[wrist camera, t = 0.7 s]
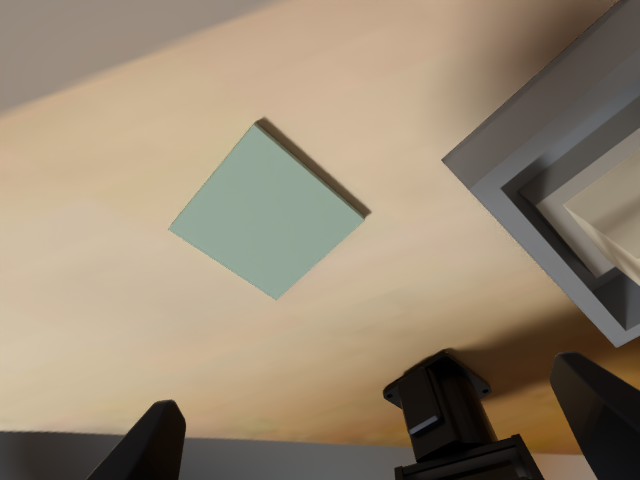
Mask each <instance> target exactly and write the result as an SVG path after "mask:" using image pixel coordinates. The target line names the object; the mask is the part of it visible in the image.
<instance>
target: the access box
mask: <svg viewBox="0 0 640 480" xmlns="http://www.w3.org/2000/svg"><path fill="white" fill-rule="evenodd" d="M638 149H640V0H620V1H619V2H618V3H616V4H615V5H614V6H613V7H612V8H611V9H610V10H609V11H607V12H606V13H605V14H604V15H603V16H602V17H601V18H600V19H599V20H597V21H596V22H595V23H594V24H593V25H592V26H591V27H590V28H588V29H587V30H586V31H585V32H584V33H583V34H582V35H581V36H579V37H578V38H577V39H576V40H575V41H574V42H573V43H572V44H571V45H569V46H568V47H567V48H566V49H565V50H564V51H563V52H562V53H560V54H559V55H558V56H557V57H556V58H555V59H554V60H553V61H551V62H550V63H549V64H548V65H547V66H546V67H545V68H544V69H543V70H541V71H540V72H539V73H538V74H537V75H536V76H535V77H534V78H532V79H531V80H530V81H529V82H528V83H527V84H526V85H525V86H523V87H522V88H521V89H520V90H519V91H518V92H517V93H516V94H515V95H513V96H512V97H511V98H510V99H509V100H508V101H507V102H506V103H504V104H503V105H502V106H501V107H500V108H499V109H498V110H497V111H495V112H494V113H493V114H492V115H491V116H490V117H489V118H488V119H487V120H485V121H484V122H483V123H482V124H481V125H480V126H479V127H478V128H476V129H475V130H474V131H473V132H472V133H471V134H470V135H469V136H467V137H466V138H465V139H464V140H463V141H462V142H461V143H460V144H459V145H457V146H456V147H455V148H454V149H453V150H452V151H451V152H450V153H448V154H447V155H446V156H445V157H444V158H443V159H442V160H441V161H442V162H443V163H444V164H445V165H446V166H447V167H448V168H449V169H450V170H451V171H452V172H453V173H454V175H455V176H456V177H457V178H458V179H459V180H460V181H461V182H462V183H463V184H464V185H465V186H466V187H467V188H468V190H469V191H470V192H471V193H472V194H473V195H474V196H475V197H476V198H477V199H478V200H479V201H480V202H481V203H482V205H483V206H484V207H485V208H486V209H487V210H488V211H489V212H490V213H491V214H492V215H493V216H494V217H495V218H496V220H497V221H498V222H499V223H500V224H501V225H502V226H503V227H504V228H505V229H506V230H507V231H508V232H509V233H510V235H511V236H512V237H513V238H514V239H515V240H516V241H517V242H518V243H519V244H520V245H521V246H522V247H523V248H524V250H525V251H526V252H527V253H528V254H529V255H530V256H531V257H532V258H533V259H534V260H535V261H536V262H537V263H538V264H539V266H540V267H541V268H542V269H543V270H544V271H545V272H546V273H547V274H548V275H549V276H550V277H551V278H552V279H553V281H554V282H555V283H556V284H557V285H558V286H559V287H560V288H561V289H562V290H563V291H564V292H565V293H566V294H567V296H568V297H569V298H570V299H571V300H572V301H573V302H574V303H575V304H576V305H577V306H578V307H579V308H580V309H581V311H582V312H583V313H584V314H585V315H586V316H587V317H588V318H589V319H590V320H591V321H592V322H593V323H594V324H595V326H596V327H597V328H598V329H599V330H600V331H601V332H602V333H603V334H604V335H605V336H606V337H607V338H608V339H609V340H610V342H611V343H612V344H613V345H614V346H615V347H616V348H618V347H620V346H621V345H623V344H625V343H627V342H629V341H631V340H632V339H634V338H636V337H638V336H640V286H639V285H638V284H637V283H636V282H634V281H633V280H632V279H631V278H629V277H628V276H627V275H626V274H624V273H623V272H622V271H621V270H620V269H618V268H617V267H616V266H615V265H613V264H612V263H611V262H610V261H608V260H607V259H606V258H605V257H604V256H603V254H602V253H601V252H600V251H599V249H598V248H597V247H596V246H595V244H594V243H593V242H592V241H591V239H590V238H589V237H588V236H587V234H586V233H585V232H584V231H583V229H582V228H581V227H580V226H579V224H578V223H577V222H576V221H575V219H574V218H573V217H572V216H571V214H570V213H569V212H568V211H567V209H566V208H565V207H564V206H563V204H564V203H566V202H567V201H568V200H570V199H571V198H572V197H574V196H575V195H577V194H578V193H579V192H581V191H582V190H583V189H585V188H586V187H588V186H589V185H590V184H592V183H593V182H594V181H596V180H597V179H599V178H600V177H601V176H603V175H604V174H605V173H607V172H608V171H610V170H611V169H612V168H614V167H615V166H616V165H618V164H619V163H621V162H622V161H623V160H625V159H626V158H627V157H629V156H630V155H632V154H633V153H634V152H636V151H637V150H638Z"/></svg>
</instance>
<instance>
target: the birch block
mask: <svg viewBox="0 0 640 480" xmlns="http://www.w3.org/2000/svg"><path fill="white" fill-rule="evenodd" d="M563 206H564V207H565V208H566V209H567V211H568V212H569V213H570V214H571V216H572V217H573V218H574V219H575V221H576V222H577V223H578V224H579V226H580V227H581V228H582V229H583V231H584V232H585V233H586V234H587V236H588V237H589V238H590V239H591V241H592V242H593V243H594V244H595V246H596V247H597V248H598V249H599V251H600V252H601V253H602V254H603V256H604V257H605V258H606V259H607V260H608V261H610V262H611V263H612V264H613V265H615V266H616V267H617V268H618V269H620V270H621V271H622V272H623V273H624V274H626V275H627V276H628V277H629V278H631V279H632V280H633V281H634V282H636V283H637V284H638V285H639V286H640V149H638V150H637V151H636V152H634V153H633V154H632V155H630V156H629V157H627V158H626V159H625V160H623V161H622V162H621V163H619V164H618V165H616V166H615V167H614V168H612V169H611V170H610V171H608V172H607V173H605V174H604V175H603V176H601V177H600V178H599V179H597V180H596V181H594V182H593V183H592V184H590V185H589V186H588V187H586V188H585V189H583V190H582V191H581V192H579V193H578V194H577V195H575V196H574V197H572V198H571V199H570V200H568V201H567V202H566V203H564V204H563Z"/></svg>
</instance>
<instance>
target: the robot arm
mask: <svg viewBox="0 0 640 480" xmlns="http://www.w3.org/2000/svg"><path fill="white" fill-rule="evenodd" d="M550 383H551V386H552V389H553V391H554V393H555V395H556V397H557V400H558V402H559V404H560V406H561V408H562V410H563V412H564V415H565V417H566V419H567V421H568V423H569V425H570V427H571V430H572V432H573V434H574V436H575V438H576V440H577V442H578V444H579V446H580V449H581V451H582V453H583V455H584V456H585V458H586V460H587V462H588V464H589V465H590V467H591V469H592V470H593V472H594V474H595V475H596V477H597V479H598V480H640V390H638V389H636V388H635V387H633V386H632V385H630V384H628V383H627V382H625V381H624V380H622V379H620V378H619V377H617V376H616V375H614V374H612V373H611V372H609V371H608V370H606V369H604V368H603V367H601V366H599V365H598V364H596V363H595V362H593V361H591V360H590V359H588V358H587V357H585V356H583V355H582V354H580V353H578V352H573V351H572V352H563V353H558V354H557V355H555V358H554V362H553V366H552V370H551V373H550ZM491 391H492V389H491V387H490V385H489V384H488V383H487V382H485V381H484V380H483V379H481V378H480V377H479V376H477V375H476V374H475V373H473V372H472V371H471V370H469V369H468V368H467V367H466V366H464V365H463V364H462V363H460V362H459V361H458V360H456V359H455V358H454V357H452V356H451V355H450V354H448V353H446V352H442V353H439V354H438V355H436V356H434V357H433V358H431V359H430V360H428V361H427V362H425V363H424V364H422V365H421V366H419V367H418V368H416V369H415V370H413V371H412V372H410V373H409V374H407V375H405V376H404V377H402V378H401V379H399V380H398V381H396V382H395V383H393V384H392V385H390V386H389V387H387V388H386V389H384V390H383V396H384V398H385V399H386V400H388V401H389V402H391V403H393V404H394V405H396V406H397V407H399V408H401V409H402V410H403V414H404V418H405V423H406V427H407V431H408V433H409V435H410V439H411V443H412V447H413V451H414V455H415V459H416V462H417V463H416V464H412V465H409V466H405V467H402V466H399V467H396V468H395V480H545V479H544V478H543V476H542V474H541V472H540V470H539V469H538V467H537V465H536V463H535V462H534V460H533V458H532V456H531V454H530V452H529V450H528V449H527V447H526V445H525V443H524V441H523V439H522V438H521V436H520V434H516V435H512V436H511V438H507V439H504V440H500V441H498V439H497V436H496V434H495V432H494V430H493V428H492V425H491V423H490V421H489V419H488V416H487V414H486V412H485V410H484V408H483V405H482V403H481V401H480V399H481V398H482V397H484V396H486V395H488V394H489V393H491ZM185 432H186V422H185V418H184V417H183V415H182V413H181V411H180V409H179V408H178V406H177V404H176V402H175V401H174V400H162V401H157V402H155V403H154V404H153V405H152V406H151V407H150V408H149V409H148V410H147V412H146V413H145V414H144V415H143V416H142V417H141V418H140V419H139V420H138V422H137V423H136V424H135V425H134V426H133V427H132V428H131V429H130V431H129V432H128V433H127V434H126V435H125V436H124V437H123V438H122V440H121V441H120V442H119V443H118V444H117V445H116V446H115V447H114V448H113V450H112V451H111V452H110V453H109V454H108V455H107V456H106V457H105V459H104V460H103V461H102V462H101V463H100V464H99V465H98V466H97V467H96V469H95V470H94V471H93V472H92V473H91V474H90V475H89V476H88V478H87V479H86V480H178V479H179V472H180V465H181V459H182V452H183V445H184V438H185Z"/></svg>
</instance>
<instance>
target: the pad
mask: <svg viewBox="0 0 640 480" xmlns="http://www.w3.org/2000/svg"><path fill="white" fill-rule="evenodd" d="M363 221H364V216H363V215H362V214H361V213H360V212H359V211H358V210H356V209H355V208H354V207H353V206H352V205H351V204H349V203H348V202H347V201H346V200H345V199H344V198H343V197H341V196H340V195H339V194H338V193H337V192H336V191H334V190H333V189H332V188H331V187H330V186H329V185H328V184H326V183H325V182H324V181H323V180H322V179H321V178H319V177H318V176H317V175H316V174H315V173H314V172H313V171H311V170H310V169H309V168H308V167H307V166H306V165H304V164H303V163H302V162H301V161H300V160H299V159H297V158H296V157H295V156H294V155H293V154H292V153H291V152H289V151H288V150H287V149H286V148H285V147H284V146H282V145H281V144H280V143H279V142H278V141H277V140H276V139H274V138H273V137H272V136H271V135H270V134H269V133H267V132H266V131H265V130H264V129H263V128H262V127H261V126H259V125H258V124H257V123H256V122H255V123H254V124H253V125H252V126H251V127H250V129H249V130H248V131H247V132H246V134H245V135H244V136H243V137H242V138H241V140H240V141H239V142H238V143H237V145H236V146H235V147H234V148H233V150H232V151H231V152H230V153H229V154H228V156H227V157H226V158H225V159H224V161H223V162H222V163H221V164H220V165H219V167H218V168H217V169H216V170H215V172H214V173H213V174H212V175H211V176H210V178H209V179H208V180H207V181H206V183H205V184H204V185H203V186H202V187H201V189H200V190H199V191H198V192H197V194H196V195H195V196H194V197H193V198H192V200H191V201H190V202H189V203H188V205H187V206H186V207H185V208H184V209H183V211H182V212H181V213H180V214H179V216H178V217H177V218H176V219H175V220H174V222H173V223H172V224H171V226H170V227H169V229H168V230H170V231H171V232H173V233H174V234H176V235H177V236H179V237H180V238H182V239H183V240H185V241H187V242H188V243H190V244H191V245H193V246H194V247H196V248H197V249H199V250H200V251H202V252H203V253H205V254H206V255H208V256H209V257H211V258H212V259H214V260H216V261H217V262H219V263H220V264H222V265H223V266H225V267H226V268H228V269H229V270H231V271H232V272H234V273H235V274H237V275H238V276H240V277H242V278H243V279H245V280H246V281H248V282H249V283H251V284H252V285H254V286H255V287H257V288H258V289H260V290H261V291H263V292H264V293H266V294H267V295H269V296H271V297H272V298H274V299H275V300H277V299H278V298H279V297H280V296H281V295H283V294H284V293H285V292H286V291H287V290H288V289H289V288H290V287H291V286H293V285H294V284H295V283H296V282H297V281H298V280H299V279H300V278H301V277H302V276H304V275H305V274H306V273H307V272H308V271H309V270H310V269H311V268H312V267H314V266H315V265H316V264H317V263H318V262H319V261H320V260H321V259H322V258H323V257H325V256H326V255H327V254H328V253H329V252H330V251H331V250H332V249H333V248H335V247H336V246H337V245H338V244H339V243H340V242H341V241H342V240H343V239H344V238H346V237H347V236H348V235H349V234H350V233H351V232H352V231H353V230H354V229H356V228H357V227H358V226H359V225H360V224H361V223H362V222H363Z"/></svg>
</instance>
